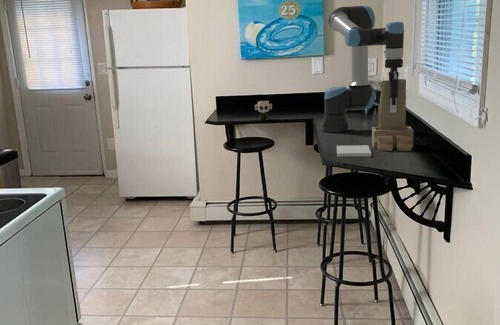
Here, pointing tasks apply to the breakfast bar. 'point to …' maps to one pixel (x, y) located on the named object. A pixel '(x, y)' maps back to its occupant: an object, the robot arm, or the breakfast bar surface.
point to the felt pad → (353, 151)
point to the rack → (393, 133)
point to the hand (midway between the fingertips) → (392, 111)
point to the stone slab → (386, 117)
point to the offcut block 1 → (385, 143)
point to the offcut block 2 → (403, 143)
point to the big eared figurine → (263, 109)
